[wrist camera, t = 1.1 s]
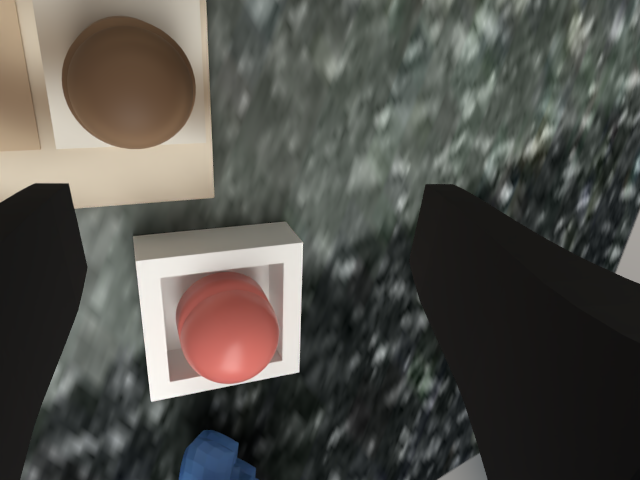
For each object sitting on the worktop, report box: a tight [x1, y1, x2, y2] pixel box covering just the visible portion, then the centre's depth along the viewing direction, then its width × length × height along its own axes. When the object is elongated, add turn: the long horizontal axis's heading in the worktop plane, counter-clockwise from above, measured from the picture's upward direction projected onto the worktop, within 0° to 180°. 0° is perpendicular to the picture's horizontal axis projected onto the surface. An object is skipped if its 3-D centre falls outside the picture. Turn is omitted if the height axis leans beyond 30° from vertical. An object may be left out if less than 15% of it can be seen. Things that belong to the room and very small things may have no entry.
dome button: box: [176, 272, 279, 384], centre depth 26 cm, size 5×5×5 cm
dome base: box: [133, 221, 303, 402], centre depth 28 cm, size 8×8×3 cm
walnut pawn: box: [62, 16, 196, 149], centre depth 19 cm, size 4×4×7 cm
